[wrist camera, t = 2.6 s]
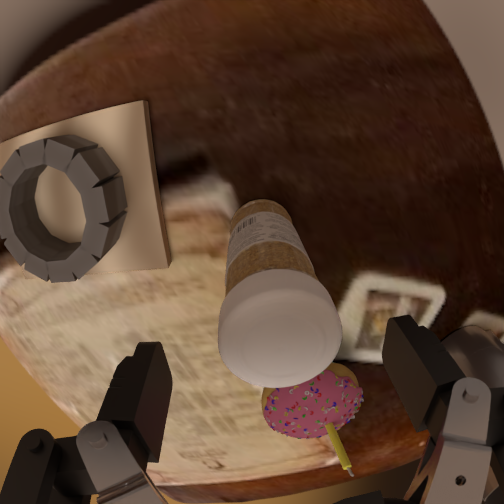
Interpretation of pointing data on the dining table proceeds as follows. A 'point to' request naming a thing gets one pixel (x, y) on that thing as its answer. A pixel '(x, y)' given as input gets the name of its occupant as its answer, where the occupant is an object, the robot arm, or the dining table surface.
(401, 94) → the dining table surface
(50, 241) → the ring holder
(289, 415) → the cupcake
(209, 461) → the dining table surface
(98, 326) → the dining table surface
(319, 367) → the sprinkles bottle
